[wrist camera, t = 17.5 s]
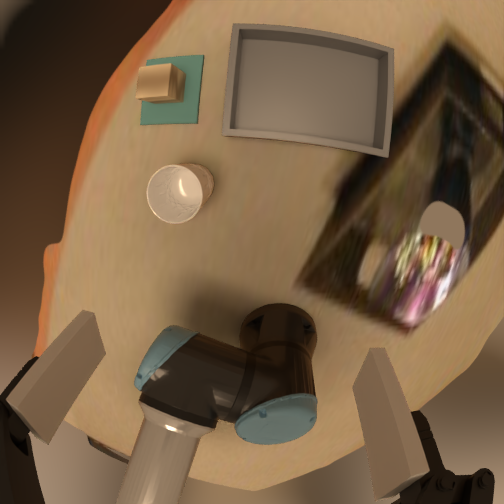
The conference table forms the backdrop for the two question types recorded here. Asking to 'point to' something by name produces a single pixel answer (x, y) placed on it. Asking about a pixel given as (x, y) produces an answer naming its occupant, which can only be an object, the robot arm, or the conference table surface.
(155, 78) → the maple block
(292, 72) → the crate
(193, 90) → the teal mat
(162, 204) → the white cup
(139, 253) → the conference table surface
